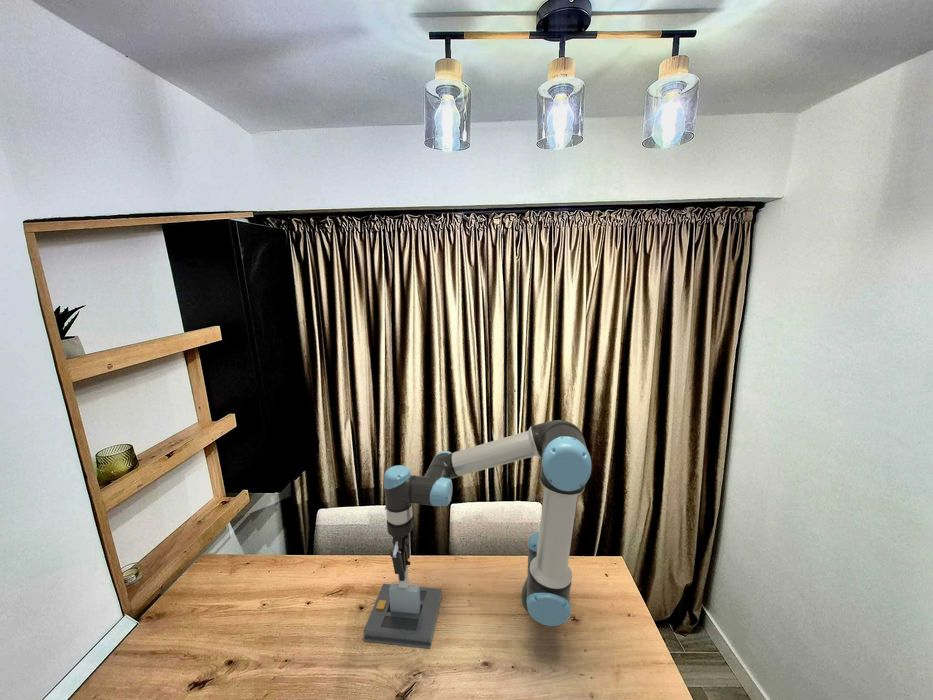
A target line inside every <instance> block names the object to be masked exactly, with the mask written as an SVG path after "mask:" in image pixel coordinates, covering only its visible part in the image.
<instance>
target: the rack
mask: <svg viewBox="0 0 933 700" xmlns="http://www.w3.org/2000/svg"><path fill="white" fill-rule="evenodd" d="M390 586H391V583H390V584H389V583H383V584H382V586H381V588H380V590H379V593H378V595H377V598H376V600H375V602H374V605H373V607H372V610H371V612H370V614H369V617H368V619H367V621H366V624H365V626H364V629H363V636H364V637H363V642H366V643H374V644H384V645H391V646H401V647H402V646H403V647H409V648H410V647H411V648H419V649H427V650H430V649H431V647H432V642H433V638H434V633H435V630H436V626H437V620H438V616H439V611H440V607H441V601H442V598H443V591H442V588H437V587H436V588H433V587H424V586H423V587H421V586H420V603H421V613H420V615H412V614H403V613H393V612H391V611H390V597H389V588H390Z"/></svg>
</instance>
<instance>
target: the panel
mask: <svg viewBox="0 0 933 700" xmlns="http://www.w3.org/2000/svg"><path fill="white" fill-rule="evenodd" d="M390 584H391V586H390V588H389V597H390V611H391V612H393V613H403V614H412V615H420V613H421V603H420V587H421V585H417V584H409V585H408V588H399V582H397V583H396V582H391V583H390Z"/></svg>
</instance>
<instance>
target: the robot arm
mask: <svg viewBox="0 0 933 700" xmlns="http://www.w3.org/2000/svg"><path fill="white" fill-rule="evenodd" d="M589 452H590V451H588V448H587V445H586V442H585V437H584V435H583V433H582V430H581V429H580V428H579V427H578V426H577V425H576V424H574V423H572V422H571V421H568V420H563V419H557V420H556V419H555V420H550V421H545V422H542V423H541V422H540V423H538V424H534V425H531V426H530V427H529V428H528V430H526V431H522V432H520V433H515V434H513V435H510V436H506V437H503V438H500V439H495V440H491V441H488V442H484V443H481V444H479V445H475V446H472V447H468V448H464V449H461V450H457V451H454V452H451V451H449V450H441V451H439V452H438V453H436V455H434V457H433V459H432V461H431V463H430V465H429V467H428V468H427V470H426V473H425V474H424V475H414V474H413V475H412V474H411V470H410V468H409V467H407V466H405V465H402V464H399V465H393V466H390V467H388V469H386V470H385V472H384V475H383V479H384V480H383V483H384V484H383V488H384V499H385V507H384V510H385V512H386V528H387V529H386V530H387V531H386V532H388V535H390V536H391V537H392V545H393V550H392V551H390V557H391V561H392V565H393V570H394V574H395V575H397V577H398V584H399V588H408V585H410V581H409V566H411V561H409V559H410V553H411V552H410V549H411V544H410V543H411V532H412V531H413V529H414V523H413V519H414V518H413V504H417V505H425V506H432V507H438V506H439V507H446V506H448V505H450V503H451V502H452V497H453V482H452V479H455V478H459V477H461V476H466V475H470V474H473V473H476V472H482V471H484V470H487V469H491V468H496V467H499V466H503V465H506V464H510V463H513V462H518V461H521V460H522V461H523V460H525V459H529V458H533V457H538V458H539V459H541V463H540V471H539V481H540V484H541V485H542V486H543V488H544V489H543V496H542V497H543V498H542V504H541V505H542V507H541V514H540V515H541V516H540V522H539V523H540V524H539V531H536V532H534V533H532V534H530V535H529V537H528V542H527V544H526V545H527V576H526V578H525V581H524V583H523V586H522V589H521V601H522V605H523V607H524V609H525V610H526V612H528V614H529V616H530V617H531V618H532V619H534V621H535V622H537V623H539V624H540V625H544V626H547V627H558V626H560V625H563V624H565V623H567V621H568V620H569V619H570V617H571V613H572V612H571V611H572V605H571V599H570V595H571V587H572V580H573V573H572V570H571V568H570V566H569V559H570V553H571V545H572V539H573V532H574V531H573V530H574V523H575V517H576V510H577V509H576V508H577V503H578V495H581V494H583V492H584V491H585V489H586V484H587V482H588V481H589V479H590V477H591V474H592V458H591V454H590V453H589Z"/></svg>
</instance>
